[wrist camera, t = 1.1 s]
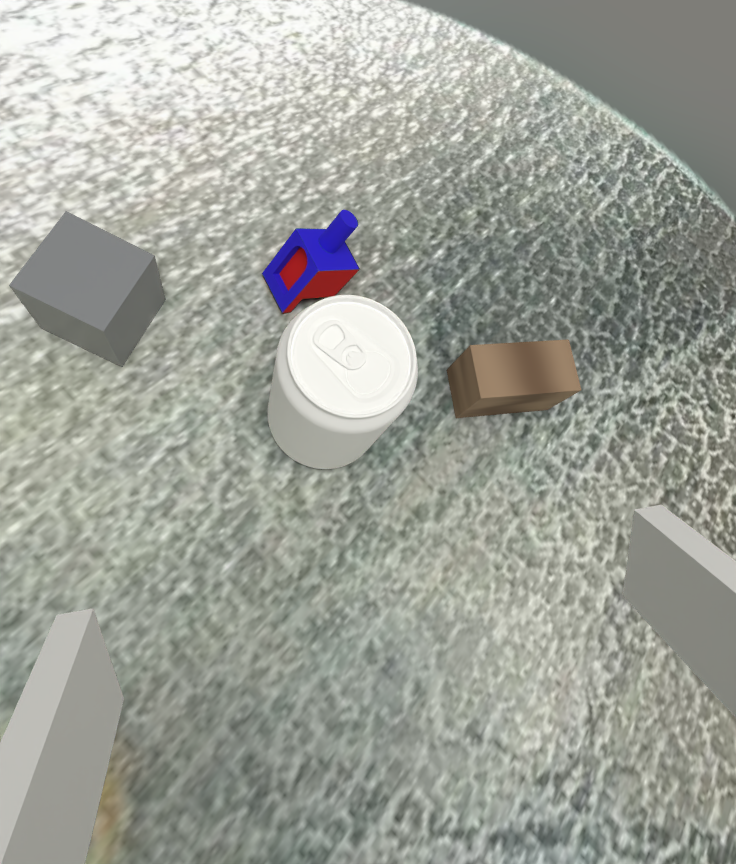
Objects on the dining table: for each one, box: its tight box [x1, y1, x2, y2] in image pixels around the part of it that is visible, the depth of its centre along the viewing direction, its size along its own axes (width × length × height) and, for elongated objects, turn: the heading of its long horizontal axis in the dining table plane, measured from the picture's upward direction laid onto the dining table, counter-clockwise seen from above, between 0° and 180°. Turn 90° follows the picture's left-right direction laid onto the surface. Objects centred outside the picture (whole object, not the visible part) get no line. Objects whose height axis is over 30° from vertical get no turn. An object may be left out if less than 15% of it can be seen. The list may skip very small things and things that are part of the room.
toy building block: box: [262, 210, 360, 313], centre depth 42 cm, size 4×4×8 cm
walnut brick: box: [447, 340, 581, 418], centre depth 44 cm, size 8×4×5 cm, turn 99°
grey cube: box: [9, 211, 165, 367], centre depth 38 cm, size 6×6×6 cm
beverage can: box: [268, 295, 418, 469], centre depth 36 cm, size 8×8×12 cm
